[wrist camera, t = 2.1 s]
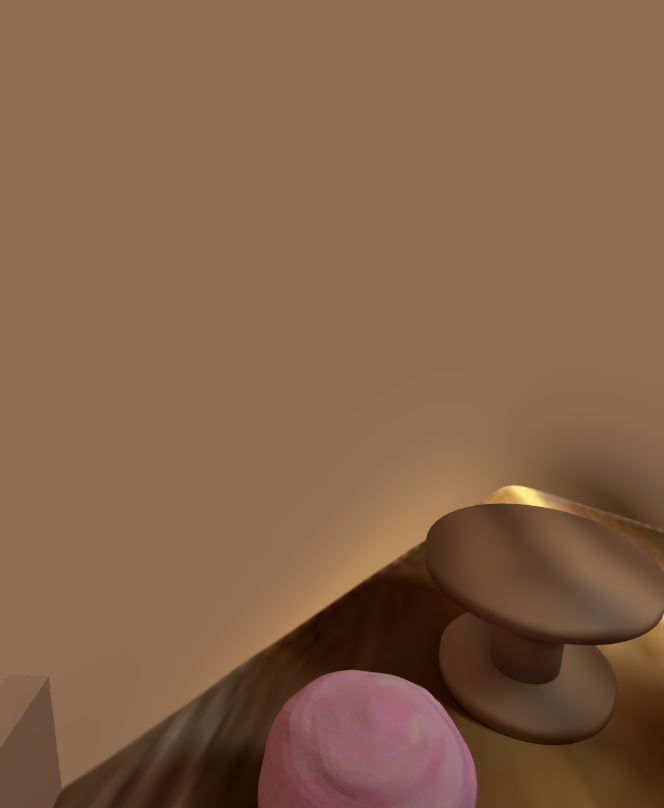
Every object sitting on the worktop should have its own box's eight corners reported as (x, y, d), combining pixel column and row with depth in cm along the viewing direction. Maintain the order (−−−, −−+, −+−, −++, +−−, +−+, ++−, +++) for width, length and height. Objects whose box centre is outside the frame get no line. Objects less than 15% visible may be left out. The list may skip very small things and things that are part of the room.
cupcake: (381, 1082, 20) (399, 870, 17) (217, 899, 25) (210, 713, 22) (494, 875, 27) (521, 697, 24) (346, 764, 32) (353, 607, 29)
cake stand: (542, 595, 47) (558, 494, 45) (694, 732, 35) (728, 601, 32) (383, 627, 43) (390, 517, 40) (490, 797, 30) (510, 652, 28)
